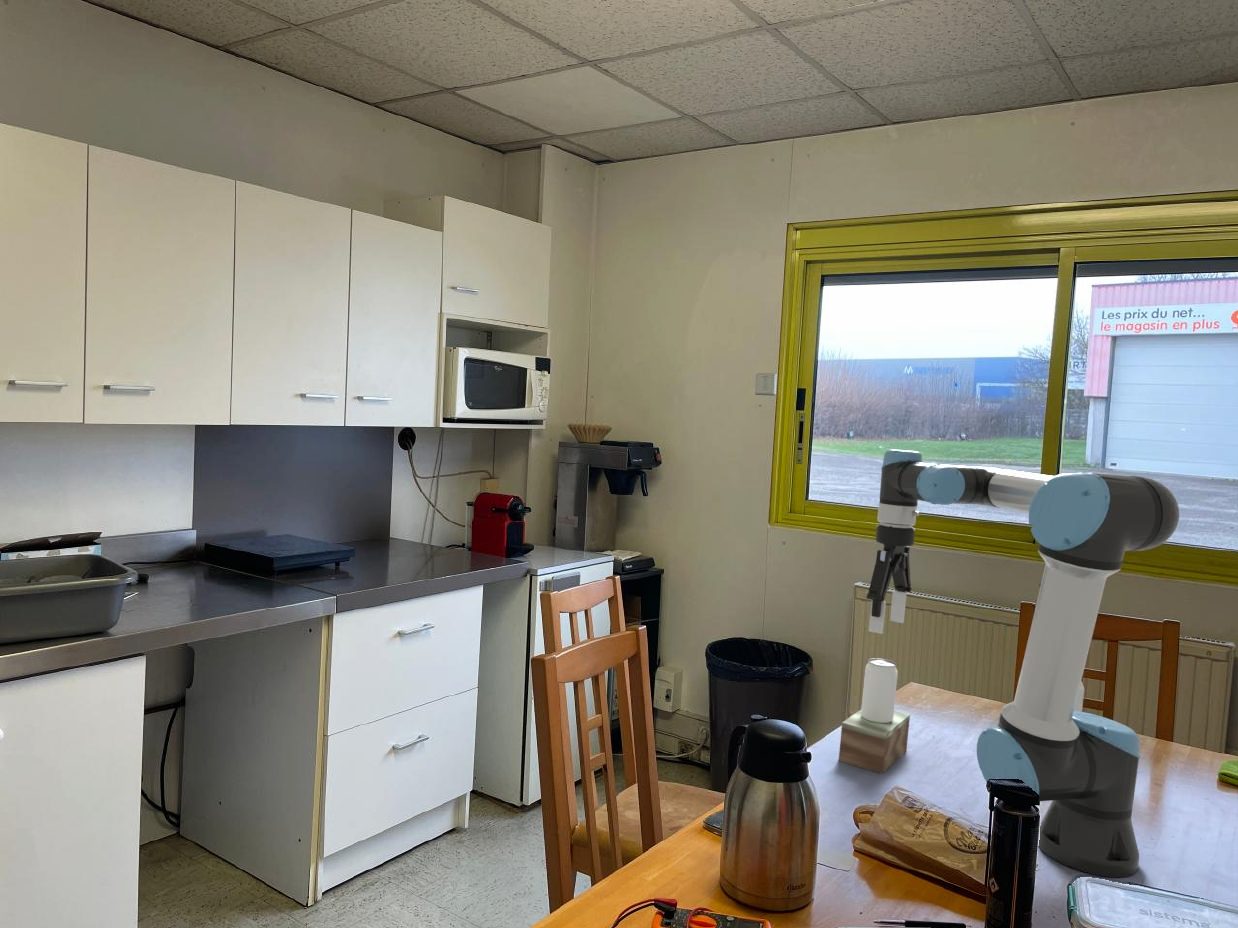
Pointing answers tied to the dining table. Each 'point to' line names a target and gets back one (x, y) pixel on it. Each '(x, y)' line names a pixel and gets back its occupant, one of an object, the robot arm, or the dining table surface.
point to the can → (879, 691)
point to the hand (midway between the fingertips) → (886, 627)
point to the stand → (873, 741)
